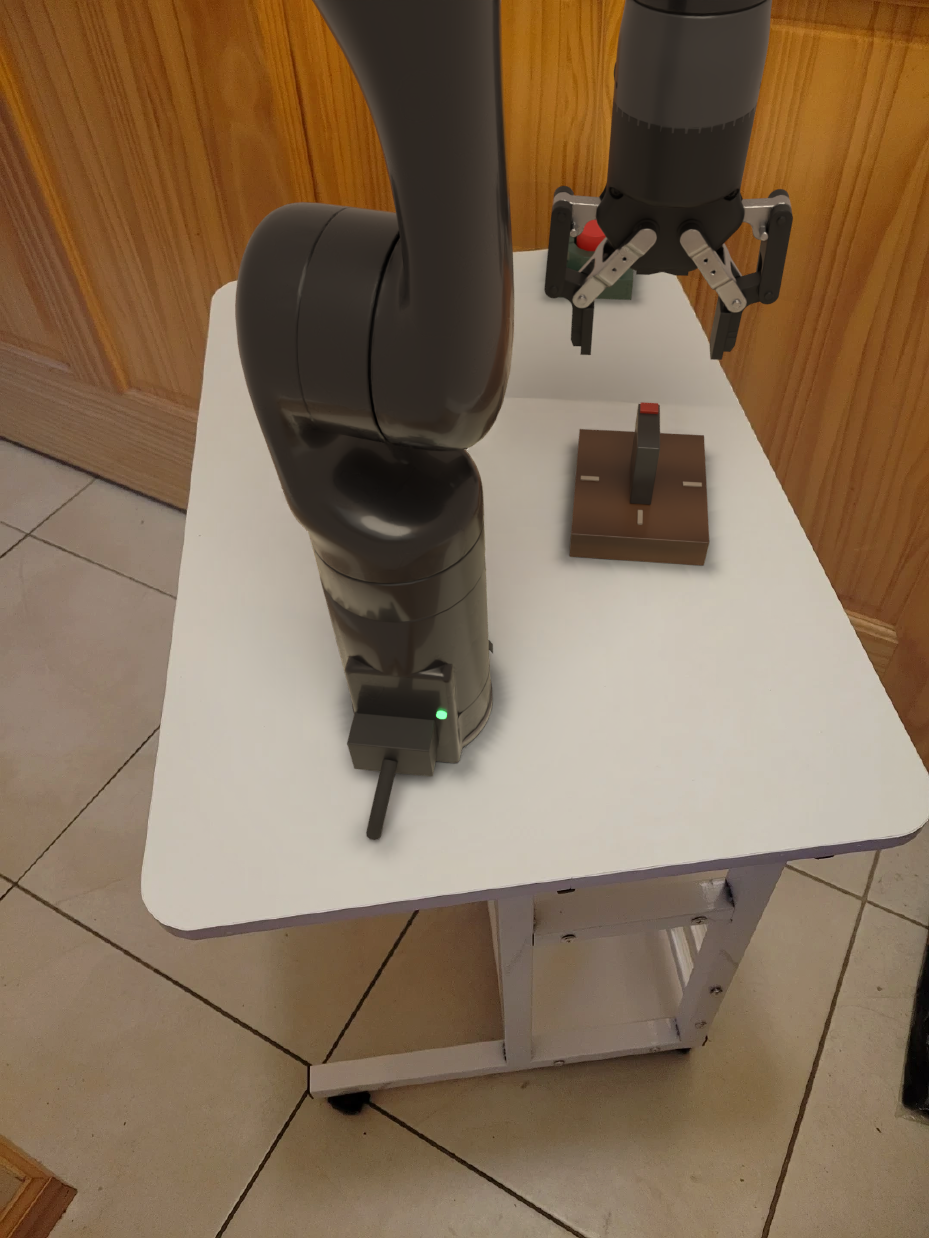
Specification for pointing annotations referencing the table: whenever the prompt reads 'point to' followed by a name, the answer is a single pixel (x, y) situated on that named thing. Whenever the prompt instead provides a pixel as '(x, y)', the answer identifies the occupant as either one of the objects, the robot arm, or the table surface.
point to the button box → (616, 291)
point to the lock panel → (640, 529)
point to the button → (590, 236)
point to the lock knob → (645, 453)
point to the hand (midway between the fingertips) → (650, 350)
